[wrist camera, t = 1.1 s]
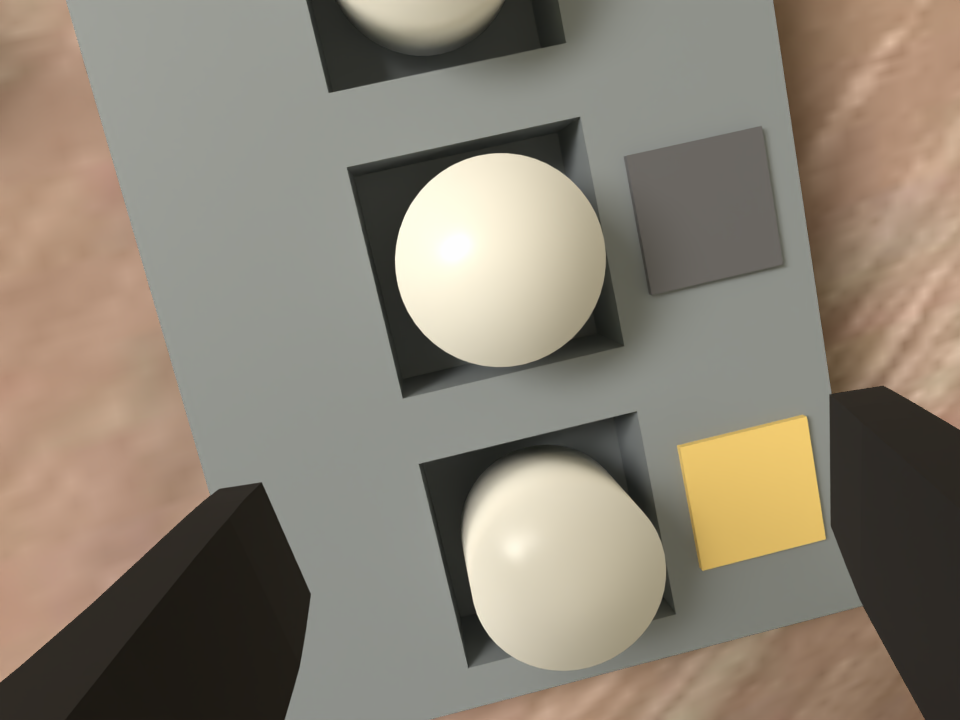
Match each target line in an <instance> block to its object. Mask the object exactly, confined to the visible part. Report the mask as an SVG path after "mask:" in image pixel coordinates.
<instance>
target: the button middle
mask: <svg viewBox="0 0 960 720" xmlns="http://www.w3.org/2000/svg"><path fill="white" fill-rule="evenodd" d="M605 268H606V251H605V243H604V237H603V233H602V229H601V226H600V223H599V221H598V218H597V216H596V213H595V211H594V209H593V208H592V206H591V204H590V202H589V201H588V199H587V198H586V197H585V195H584V194H583V193H582V191H581V190H580V189H579V188H578V187H577V186H576V185H575V184H574V183H573V182H572V181H571V180H570V179H569V178H568V177H566V176H565V175H564V174H563V173H561V172H560V171H559V170H557V169H555V168H553V167H552V166H550V165H548V164H546V163H544V162H541V161H539V160H537V159H534V158H530V157H527V156H523V155H517V154H509V153H492V154H486V155H479V156H476V157H472V158H469V159H465V160H463V161H461V162H459V163H456V164H454V165H452V166H450V167H449V168H447V169H445V170H444V171H442V172H441V173H439V174H438V175H437V176H436V177H434V178H433V179H432V180H431V181H429V182H428V184H427V185H426V186H425V187H424V188H423V189H422V190H421V191H420V192H419V194H418V195H417V196H416V198H415V199H414V201H413V202H412V203H411V205H410V207H409V209H408V211H407V213H406V215H405V216H404V219H403V222H402V225H401V227H400V230H399V234H398V239H397V243H396V253H395V269H396V277H397V283H398V288H399V291H400V294H401V297H402V300H403V302H404V304H405V307H406V309H407V311H408V313H409V314H410V316H411V318H412V319H413V321H414V322H415V324H416V325H417V326H418V328H419V329H420V330H421V331H422V332H423V334H424V335H425V336H426V337H427V338H429V339H430V340H431V341H432V342H433V343H434V344H435V345H437V346H438V347H439V348H441V349H442V350H444V351H445V352H447V353H449V354H451V355H453V356H454V357H456V358H459V359H461V360H464V361H467V362H469V363H473V364H478V365H482V366H491V367H511V366H517V365H523V364H527V363H530V362H533V361H536V360H539V359H541V358H543V357H545V356H548V355H550V354H551V353H553V352H554V351H556V350H558V349H559V348H561V347H562V346H563V345H564V344H566V343H567V342H568V341H569V340H571V339H572V338H573V337H574V336H575V335H576V334H577V332H578V331H579V330H580V329H581V328H582V327H583V325H584V324H585V323H586V321H587V320H588V318H589V317H590V315H591V313H592V311H593V310H594V308H595V306H596V303H597V301H598V298H599V296H600V293H601V290H602V286H603V282H604V276H605Z"/></svg>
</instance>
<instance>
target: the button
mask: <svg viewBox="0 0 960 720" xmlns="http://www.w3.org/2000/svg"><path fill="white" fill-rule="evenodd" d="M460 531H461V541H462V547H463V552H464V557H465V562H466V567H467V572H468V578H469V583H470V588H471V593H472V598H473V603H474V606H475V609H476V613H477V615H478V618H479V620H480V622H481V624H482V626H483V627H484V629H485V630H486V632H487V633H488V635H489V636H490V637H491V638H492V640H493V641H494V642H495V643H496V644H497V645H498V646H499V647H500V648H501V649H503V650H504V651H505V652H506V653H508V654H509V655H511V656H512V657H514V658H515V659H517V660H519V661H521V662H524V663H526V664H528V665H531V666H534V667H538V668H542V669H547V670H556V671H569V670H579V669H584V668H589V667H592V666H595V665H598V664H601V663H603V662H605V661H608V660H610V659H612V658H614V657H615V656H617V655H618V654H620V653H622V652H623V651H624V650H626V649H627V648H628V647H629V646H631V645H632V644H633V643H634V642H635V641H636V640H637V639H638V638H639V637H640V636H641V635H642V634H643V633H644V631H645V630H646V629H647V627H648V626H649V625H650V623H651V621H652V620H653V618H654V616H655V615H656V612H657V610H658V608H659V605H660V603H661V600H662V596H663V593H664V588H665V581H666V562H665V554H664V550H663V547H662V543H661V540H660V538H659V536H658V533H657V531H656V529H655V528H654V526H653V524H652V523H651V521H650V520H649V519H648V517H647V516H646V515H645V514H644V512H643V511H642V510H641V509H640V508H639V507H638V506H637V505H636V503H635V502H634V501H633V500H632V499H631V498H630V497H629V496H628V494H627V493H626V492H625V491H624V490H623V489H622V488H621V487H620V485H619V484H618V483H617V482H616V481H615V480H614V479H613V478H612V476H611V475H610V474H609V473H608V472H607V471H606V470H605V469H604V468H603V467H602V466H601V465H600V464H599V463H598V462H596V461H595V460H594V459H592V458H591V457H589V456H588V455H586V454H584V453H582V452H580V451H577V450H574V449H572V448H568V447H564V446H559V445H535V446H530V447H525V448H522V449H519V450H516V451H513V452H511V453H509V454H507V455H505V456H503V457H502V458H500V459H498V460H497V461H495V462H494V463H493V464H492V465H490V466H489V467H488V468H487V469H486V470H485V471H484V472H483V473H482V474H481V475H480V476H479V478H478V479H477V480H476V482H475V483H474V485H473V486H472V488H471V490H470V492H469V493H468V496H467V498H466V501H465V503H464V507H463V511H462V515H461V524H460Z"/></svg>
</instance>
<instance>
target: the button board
mask: <svg viewBox="0 0 960 720" xmlns="http://www.w3.org/2000/svg"><path fill="white" fill-rule="evenodd" d="M66 2H67V5H68V9H69V12H70V16H71V19H72V23H73V26H74V30H75V33H76V36H77V40H78V43H79V47H80V50H81V54H82V57H83V60H84V64H85V67H86V71H87V74H88V78H89V81H90V84H91V88H92V91H93V95H94V98H95V102H96V105H97V108H98V112H99V115H100V119H101V122H102V126H103V129H104V133H105V136H106V139H107V143H108V146H109V150H110V153H111V157H112V160H113V163H114V167H115V170H116V174H117V177H118V181H119V184H120V187H121V191H122V194H123V198H124V201H125V205H126V208H127V211H128V215H129V218H130V222H131V225H132V229H133V232H134V235H135V239H136V242H137V246H138V249H139V253H140V256H141V260H142V263H143V266H144V270H145V273H146V277H147V280H148V284H149V287H150V290H151V294H152V297H153V301H154V304H155V308H156V311H157V314H158V318H159V321H160V325H161V328H162V332H163V335H164V338H165V342H166V345H167V349H168V352H169V356H170V359H171V362H172V366H173V369H174V373H175V376H176V380H177V383H178V387H179V390H180V393H181V397H182V400H183V404H184V407H185V411H186V414H187V417H188V421H189V424H190V428H191V431H192V435H193V438H194V441H195V445H196V448H197V452H198V455H199V459H200V462H201V465H202V469H203V472H204V476H205V479H206V483H207V486H208V489H209V493H210V496H211V495H212V494H213V493H214V492H216V491H217V490H218V489H221V488H227V487H234V486H240V485H247V484H253V483H259V482H262V484H263V486H264V488H265V490H266V493H267V495H268V497H269V500H270V502H271V504H272V506H273V509H274V511H275V513H276V516H277V518H278V520H279V522H280V525H281V527H282V529H283V531H284V534H285V536H286V538H287V541H288V543H289V545H290V547H291V550H292V552H293V554H294V557H295V559H296V561H297V563H298V566H299V568H300V570H301V572H302V575H303V577H304V579H305V582H306V584H307V586H308V588H309V591H310V593H311V598H310V605H309V613H308V620H307V627H306V634H305V640H304V646H303V652H302V657H301V663H300V668H299V672H298V675H297V679H296V683H295V686H294V690H293V693H292V697H291V700H290V704H289V707H288V710H287V714H286V717H285V720H430V719H434V718H438V717H441V716H445V715H449V714H453V713H457V712H460V711H464V710H468V709H472V708H476V707H479V706H483V705H487V704H491V703H495V702H499V701H502V700H506V699H510V698H514V697H518V696H521V695H525V694H529V693H533V692H537V691H540V690H544V689H548V688H552V687H556V686H560V685H563V684H567V683H571V682H575V681H579V680H582V679H586V678H590V677H594V676H598V675H601V674H605V673H609V672H613V671H617V670H620V669H624V668H628V667H632V666H636V665H640V664H643V663H647V662H651V661H655V660H659V659H662V658H666V657H670V656H674V655H678V654H681V653H685V652H689V651H693V650H697V649H701V648H704V647H708V646H712V645H716V644H720V643H723V642H727V641H731V640H735V639H739V638H742V637H746V636H750V635H754V634H758V633H761V632H765V631H769V630H773V629H777V628H781V627H784V626H788V625H792V624H796V623H800V622H803V621H807V620H811V619H815V618H819V617H822V616H826V615H830V614H834V613H838V612H842V611H845V610H849V609H853V608H857V607H861V606H863V605H862V603H861V601H860V599H859V597H858V594H857V592H856V589H855V587H854V584H853V582H852V579H851V577H850V575H849V572H848V570H847V567H846V565H845V562H844V559H843V557H842V554H841V552H840V549H839V546H838V544H837V541H836V538H835V536H834V533H833V531H832V528H831V518H830V414H829V394H831V387H830V380H829V373H828V367H827V360H826V353H825V346H824V340H823V333H822V326H821V320H820V313H819V306H818V299H817V293H816V286H815V279H814V273H813V266H812V259H811V252H810V246H809V239H808V232H807V226H806V219H805V212H804V205H803V199H802V192H801V185H800V178H799V172H798V165H797V158H796V152H795V145H794V138H793V131H792V125H791V118H790V111H789V105H788V98H787V91H786V84H785V78H784V71H783V64H782V57H781V51H780V44H779V37H778V31H777V24H776V17H775V10H774V4H773V0H505V1H504V3H503V5H502V7H501V9H500V11H499V13H498V14H497V16H496V17H495V19H494V20H493V21H492V23H491V24H490V25H489V26H488V27H487V28H486V29H485V30H484V31H483V32H482V33H481V34H480V35H479V36H478V37H476V38H475V39H474V40H472V41H471V42H469V43H467V44H466V45H464V46H462V47H460V48H458V49H455V50H453V51H450V52H447V53H443V54H438V55H431V56H414V55H407V54H402V53H399V52H395V51H392V50H389V49H387V48H385V47H382V46H380V45H379V44H377V43H375V42H374V41H372V40H370V39H369V38H368V37H366V36H365V35H364V34H362V33H361V32H360V31H359V30H358V29H357V28H356V27H355V26H354V25H353V24H352V23H351V22H350V21H349V19H348V18H347V17H346V16H345V14H344V13H343V12H342V10H341V8H340V7H339V5H338V3H337V2H336V0H66ZM492 153H509V154H517V155H523V156H527V157H530V158H534V159H537V160H539V161H541V162H544V163H546V164H548V165H550V166H552V167H553V168H555V169H557V170H559V171H560V172H561V173H563V174H564V175H565V176H566V177H568V178H569V179H570V180H571V181H572V182H573V183H574V184H575V185H576V186H577V187H578V188H579V189H580V190H581V191H582V193H583V194H584V195H585V197H586V198H587V199H588V201H589V202H590V204H591V206H592V208H593V209H594V211H595V213H596V216H597V218H598V221H599V223H600V226H601V229H602V233H603V237H604V243H605V251H606V268H605V276H604V282H603V286H602V290H601V293H600V296H599V298H598V301H597V303H596V306H595V308H594V310H593V311H592V313H591V315H590V317H589V318H588V320H587V321H586V323H585V324H584V325H583V327H582V328H581V329H580V330H579V331H578V332H577V334H576V335H575V336H574V337H573V338H572V339H571V340H569V341H568V342H567V343H566V344H564V345H563V346H562V347H561V348H559V349H558V350H556V351H554V352H553V353H551V354H550V355H548V356H545V357H543V358H541V359H539V360H536V361H533V362H530V363H527V364H523V365H517V366H511V367H491V366H482V365H478V364H473V363H469V362H467V361H464V360H461V359H459V358H456V357H454V356H453V355H451V354H449V353H447V352H445V351H444V350H442V349H441V348H439V347H438V346H437V345H435V344H434V343H433V342H432V341H431V340H430V339H429V338H427V337H426V336H425V335H424V334H423V332H422V331H421V330H420V329H419V328H418V326H417V325H416V324H415V322H414V321H413V319H412V318H411V316H410V314H409V313H408V311H407V309H406V307H405V304H404V302H403V300H402V297H401V294H400V291H399V288H398V283H397V277H396V269H395V253H396V243H397V239H398V234H399V230H400V227H401V225H402V222H403V219H404V216H405V215H406V213H407V211H408V209H409V207H410V205H411V203H412V202H413V201H414V199H415V198H416V196H417V195H418V194H419V192H420V191H421V190H422V189H423V188H424V187H425V186H426V185H427V184H428V182H429V181H431V180H432V179H433V178H434V177H436V176H437V175H438V174H439V173H441V172H442V171H444V170H445V169H447V168H449V167H450V166H452V165H454V164H456V163H459V162H461V161H463V160H465V159H469V158H472V157H476V156H479V155H486V154H492ZM535 445H559V446H564V447H568V448H572V449H574V450H577V451H580V452H582V453H584V454H586V455H588V456H589V457H591V458H592V459H594V460H595V461H596V462H598V463H599V464H600V465H601V466H602V467H603V468H604V469H605V470H606V471H607V472H608V473H609V474H610V475H611V476H612V478H613V479H614V480H615V481H616V482H617V483H618V484H619V485H620V487H621V488H622V489H623V490H624V491H625V492H626V493H627V494H628V496H629V497H630V498H631V499H632V500H633V501H634V502H635V503H636V505H637V506H638V507H639V508H640V509H641V510H642V511H643V512H644V514H645V515H646V516H647V517H648V519H649V520H650V521H651V523H652V524H653V526H654V528H655V529H656V531H657V533H658V536H659V538H660V540H661V543H662V547H663V550H664V554H665V562H666V581H665V588H664V593H663V596H662V600H661V603H660V605H659V608H658V610H657V612H656V615H655V616H654V618H653V620H652V621H651V623H650V625H649V626H648V627H647V629H646V630H645V631H644V633H643V634H642V635H641V636H640V637H639V638H638V639H637V640H636V641H635V642H634V643H633V644H632V645H631V646H629V647H628V648H627V649H626V650H624V651H623V652H622V653H620V654H618V655H617V656H615V657H614V658H612V659H610V660H608V661H605V662H603V663H601V664H598V665H595V666H592V667H589V668H584V669H579V670H569V671H556V670H547V669H542V668H538V667H534V666H531V665H528V664H526V663H524V662H521V661H519V660H517V659H515V658H514V657H512V656H511V655H509V654H508V653H506V652H505V651H504V650H503V649H501V648H500V647H499V646H498V645H497V644H496V643H495V642H494V641H493V640H492V638H491V637H490V636H489V635H488V633H487V632H486V630H485V629H484V627H483V626H482V624H481V622H480V620H479V618H478V615H477V613H476V609H475V606H474V603H473V598H472V593H471V588H470V583H469V578H468V572H467V567H466V562H465V557H464V552H463V547H462V541H461V531H460V524H461V515H462V511H463V507H464V503H465V501H466V498H467V496H468V493H469V492H470V490H471V488H472V486H473V485H474V483H475V482H476V480H477V479H478V478H479V476H480V475H481V474H482V473H483V472H484V471H485V470H486V469H487V468H488V467H489V466H490V465H492V464H493V463H494V462H495V461H497V460H498V459H500V458H502V457H503V456H505V455H507V454H509V453H511V452H513V451H516V450H519V449H522V448H525V447H530V446H535Z"/></svg>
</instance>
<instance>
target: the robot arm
mask: <svg viewBox="0 0 960 720" xmlns="http://www.w3.org/2000/svg"><path fill="white" fill-rule="evenodd" d="M829 414H830V518H831V528H832V531H833V533H834V536H835V538H836V541H837V544H838V546H839V549H840V552H841V554H842V557H843V559H844V562H845V565H846V567H847V570H848V572H849V575H850V577H851V579H852V582H853V584H854V587H855V589H856V592H857V594H858V597H859V599H860V601H861V603H862V605H863V607H864V609H865V611H866V612H867V614H868V616H869V618H870V620H871V622H872V624H873V626H874V627H875V629H876V631H877V633H878V635H879V637H880V638H881V640H882V642H883V644H884V646H885V648H886V649H887V651H888V653H889V655H890V657H891V659H892V660H893V662H894V664H895V666H896V668H897V670H898V671H899V673H900V675H901V677H902V679H903V680H904V682H905V684H906V686H907V688H908V689H909V691H910V693H911V695H912V697H913V698H914V700H915V702H916V704H917V706H918V708H919V709H920V711H921V713H922V715H923V717H924V718H925V720H960V430H959V429H957V428H956V427H954V426H952V425H950V424H949V423H947V422H945V421H944V420H942V419H940V418H939V417H937V416H935V415H934V414H932V413H930V412H928V411H927V410H925V409H923V408H922V407H920V406H918V405H917V404H915V403H913V402H911V401H910V400H908V399H906V398H905V397H903V396H901V395H899V394H897V393H896V392H894V391H892V390H890V389H888V388H886V387H884V386H879V387H873V388H866V389H860V390H853V391H847V392H840V393H834V394H829ZM310 598H311V593H310V591H309V588H308V586H307V584H306V582H305V579H304V577H303V575H302V572H301V570H300V568H299V566H298V563H297V561H296V559H295V557H294V554H293V552H292V550H291V547H290V545H289V543H288V541H287V538H286V536H285V534H284V531H283V529H282V527H281V525H280V522H279V520H278V518H277V516H276V513H275V511H274V509H273V506H272V504H271V502H270V500H269V497H268V495H267V493H266V490H265V488H264V486H263V484H262V482H259V483H253V484H247V485H240V486H234V487H227V488H221V489H218V490H217V491H216V492H214V493H213V494H212V495H211V496H209V497H208V498H207V499H206V500H204V501H203V502H202V503H201V504H200V505H199V506H197V507H196V508H195V509H194V510H193V511H192V512H191V513H189V514H188V515H187V516H186V517H185V518H184V519H183V520H182V521H181V522H180V523H178V524H177V525H176V526H175V527H174V528H173V529H172V530H171V531H170V532H169V533H168V534H167V535H165V536H164V537H163V538H162V539H161V540H160V541H159V542H158V543H157V544H156V545H155V546H154V547H153V548H152V549H151V550H149V551H148V552H147V553H146V554H145V555H144V556H143V557H142V558H141V559H140V560H139V561H138V562H137V563H135V564H134V565H133V566H132V567H131V568H130V569H129V570H128V571H127V572H126V573H125V574H124V575H123V576H121V577H120V578H119V579H118V580H117V581H116V582H115V583H114V584H113V585H112V586H111V587H110V588H109V589H107V590H106V591H105V592H104V593H103V594H102V595H101V596H100V597H99V598H98V599H97V600H96V601H94V602H93V603H92V604H91V605H90V606H89V607H88V608H87V609H85V610H84V611H83V612H82V613H81V614H80V615H79V616H77V617H76V618H75V619H74V620H73V621H72V622H71V623H69V624H68V625H67V626H66V627H65V628H64V629H62V630H61V631H60V632H59V633H58V634H57V635H56V636H54V637H53V638H52V639H51V640H50V641H49V642H48V643H46V644H45V645H44V646H43V647H42V648H41V649H39V650H38V651H37V652H36V653H35V654H34V655H33V656H31V657H30V658H29V659H28V660H27V661H26V662H25V663H23V664H22V665H21V666H20V667H19V668H18V669H16V670H15V671H14V672H13V673H11V674H10V675H9V676H8V677H7V678H5V679H4V680H3V681H2V682H0V720H285V717H286V714H287V710H288V707H289V704H290V700H291V697H292V693H293V690H294V686H295V683H296V679H297V675H298V672H299V668H300V663H301V657H302V652H303V646H304V640H305V634H306V627H307V620H308V613H309V605H310Z"/></svg>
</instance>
